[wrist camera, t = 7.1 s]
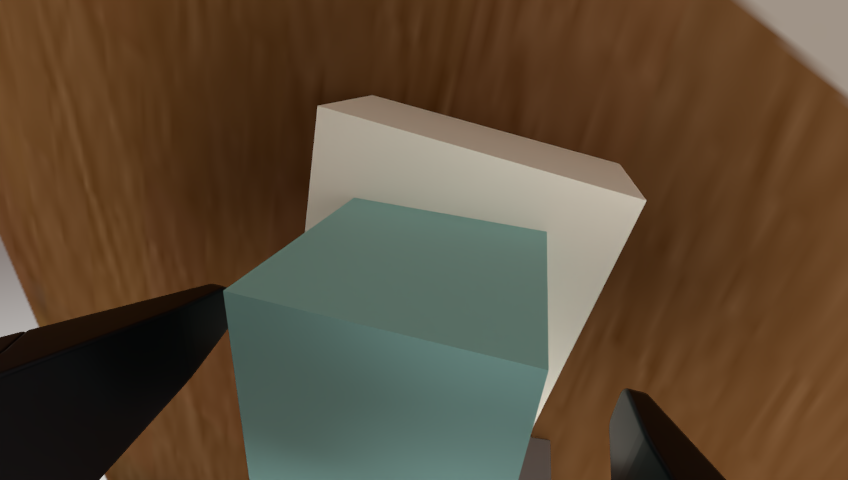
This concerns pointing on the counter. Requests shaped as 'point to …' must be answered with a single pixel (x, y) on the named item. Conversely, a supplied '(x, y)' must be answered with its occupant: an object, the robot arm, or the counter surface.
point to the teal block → (392, 348)
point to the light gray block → (536, 461)
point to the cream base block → (482, 193)
